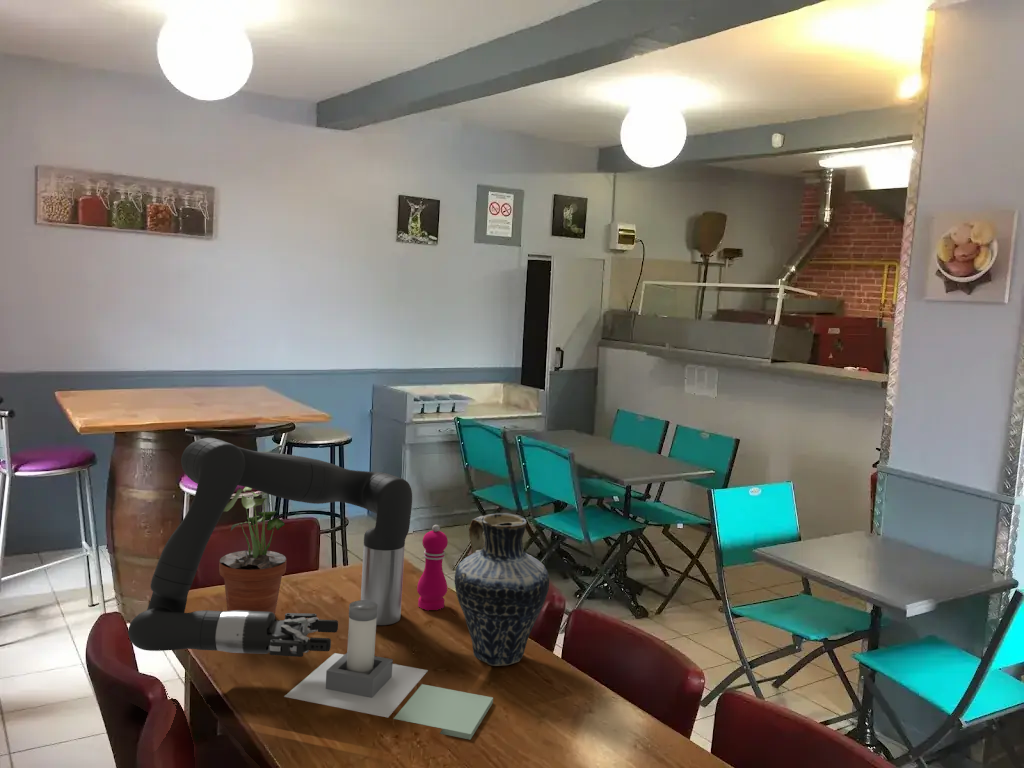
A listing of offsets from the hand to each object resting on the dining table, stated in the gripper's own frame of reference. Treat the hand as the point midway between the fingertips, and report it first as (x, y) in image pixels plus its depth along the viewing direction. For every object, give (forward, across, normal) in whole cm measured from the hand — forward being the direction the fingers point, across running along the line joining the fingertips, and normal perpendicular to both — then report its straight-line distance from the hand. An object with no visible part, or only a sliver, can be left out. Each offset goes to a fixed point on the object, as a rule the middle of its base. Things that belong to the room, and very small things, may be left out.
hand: (334, 635), depth 156 cm
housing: (+5, 0, +10) cm, 11 cm away
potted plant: (-24, +32, +10) cm, 41 cm away
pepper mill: (+17, +43, +10) cm, 48 cm away
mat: (+21, -8, +10) cm, 25 cm away
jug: (+31, +16, +10) cm, 36 cm away
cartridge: (+5, 0, +9) cm, 10 cm away
